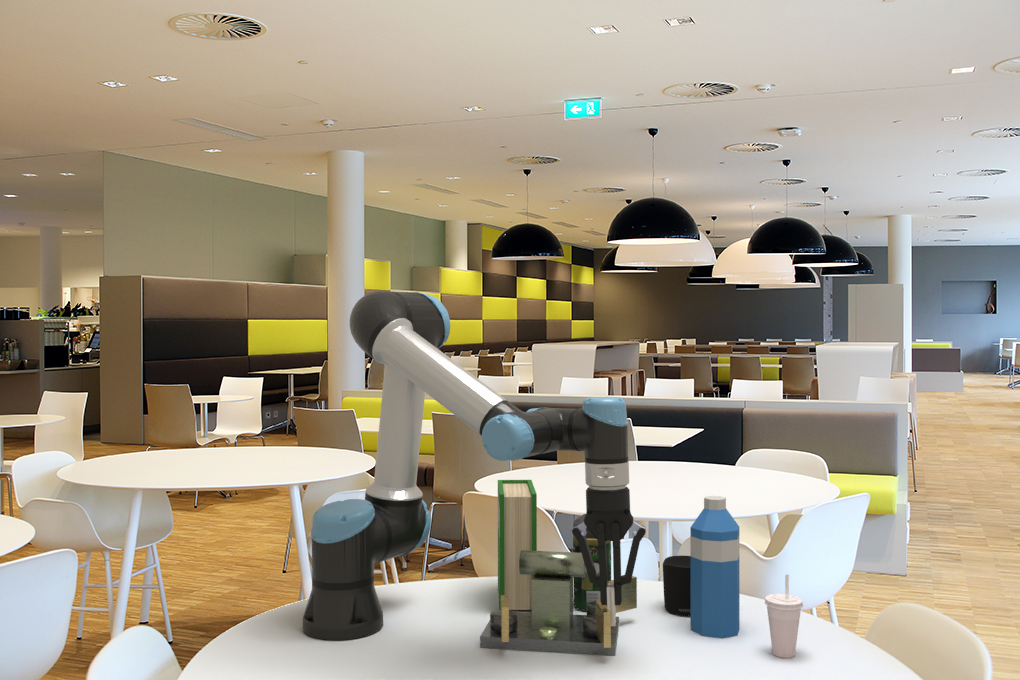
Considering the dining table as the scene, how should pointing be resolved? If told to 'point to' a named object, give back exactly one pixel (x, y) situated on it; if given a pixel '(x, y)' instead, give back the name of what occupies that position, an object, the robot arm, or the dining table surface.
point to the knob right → (599, 624)
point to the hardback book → (515, 540)
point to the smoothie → (784, 621)
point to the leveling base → (549, 645)
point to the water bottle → (715, 571)
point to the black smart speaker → (677, 585)
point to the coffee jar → (582, 585)
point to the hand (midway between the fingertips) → (612, 623)
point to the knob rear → (627, 598)
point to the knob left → (503, 619)
